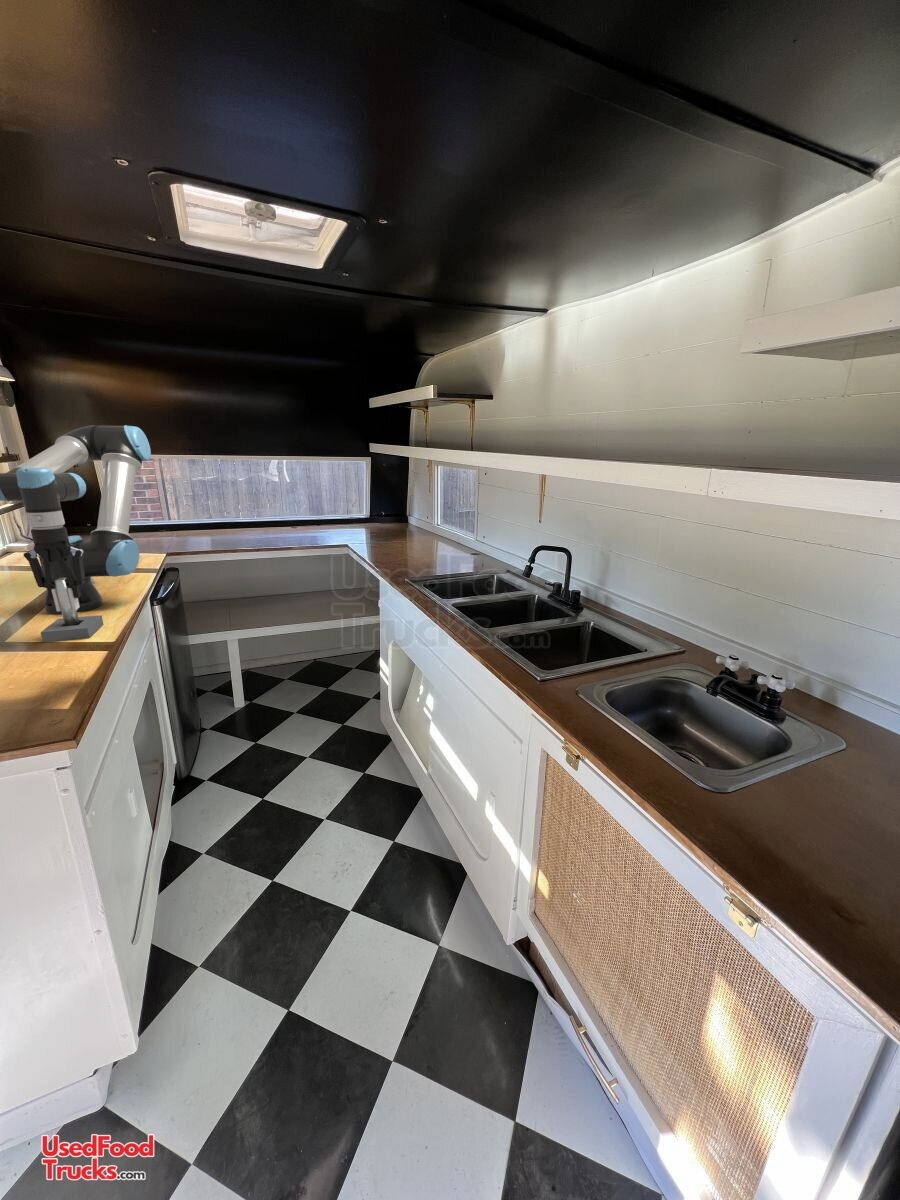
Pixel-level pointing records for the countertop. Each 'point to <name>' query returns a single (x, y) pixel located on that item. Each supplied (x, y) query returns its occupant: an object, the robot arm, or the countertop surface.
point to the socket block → (72, 629)
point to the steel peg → (65, 602)
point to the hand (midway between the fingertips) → (68, 609)
